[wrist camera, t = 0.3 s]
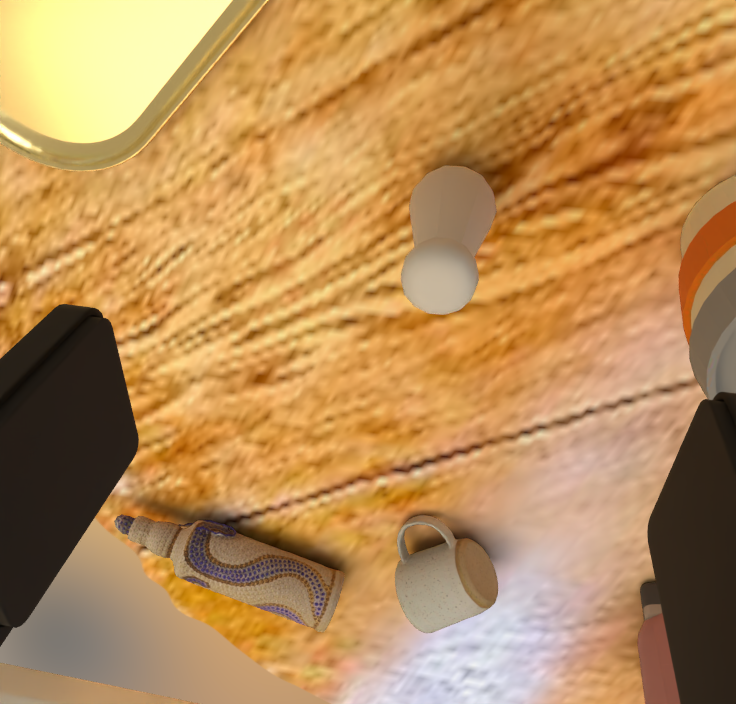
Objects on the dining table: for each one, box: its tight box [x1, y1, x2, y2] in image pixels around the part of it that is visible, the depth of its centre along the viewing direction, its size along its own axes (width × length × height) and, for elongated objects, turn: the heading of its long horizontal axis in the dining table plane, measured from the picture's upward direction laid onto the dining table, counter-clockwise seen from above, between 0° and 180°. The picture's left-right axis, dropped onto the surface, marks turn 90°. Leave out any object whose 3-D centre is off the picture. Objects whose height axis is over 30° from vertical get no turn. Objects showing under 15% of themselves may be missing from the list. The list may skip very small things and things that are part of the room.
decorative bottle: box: [115, 515, 345, 632], centre depth 71 cm, size 26×8×7 cm, turn 70°
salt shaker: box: [401, 165, 497, 315], centre depth 41 cm, size 6×6×13 cm
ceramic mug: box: [395, 515, 498, 633], centre depth 65 cm, size 11×8×8 cm
